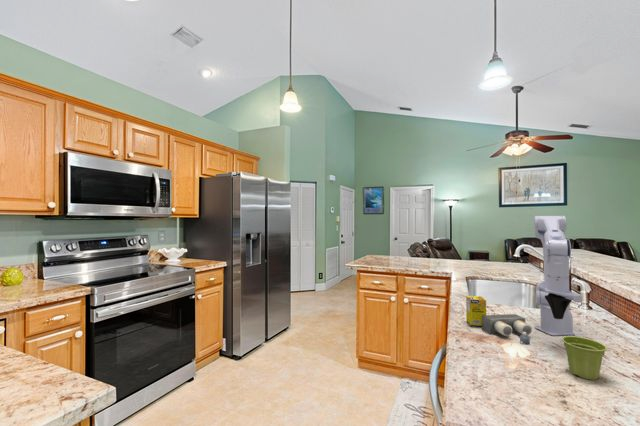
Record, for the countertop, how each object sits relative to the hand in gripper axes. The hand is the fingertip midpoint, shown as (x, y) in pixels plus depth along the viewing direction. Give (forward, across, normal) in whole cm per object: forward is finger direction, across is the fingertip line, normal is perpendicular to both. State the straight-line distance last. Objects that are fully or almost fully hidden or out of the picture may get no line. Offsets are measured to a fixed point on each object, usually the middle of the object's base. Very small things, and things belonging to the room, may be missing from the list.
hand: (558, 318), depth 98 cm
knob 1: (+9, -16, -10) cm, 21 cm away
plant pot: (+11, +14, -6) cm, 19 cm away
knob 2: (+9, -16, -2) cm, 18 cm away
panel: (+10, -18, -6) cm, 21 cm away
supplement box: (+11, -25, -12) cm, 30 cm away
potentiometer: (+10, -7, -6) cm, 14 cm away
